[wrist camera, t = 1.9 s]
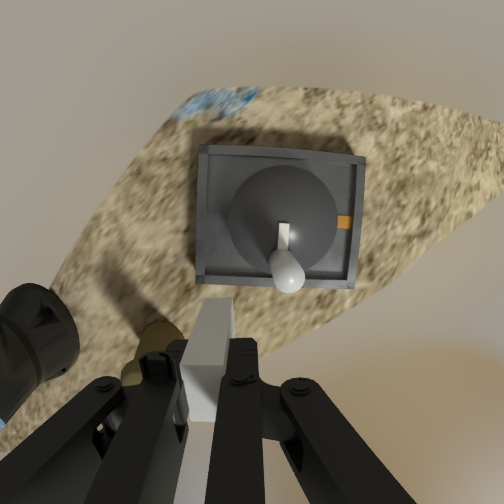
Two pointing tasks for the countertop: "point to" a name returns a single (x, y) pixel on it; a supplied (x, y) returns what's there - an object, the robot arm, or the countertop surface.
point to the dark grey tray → (230, 179)
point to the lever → (283, 223)
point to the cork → (149, 349)
